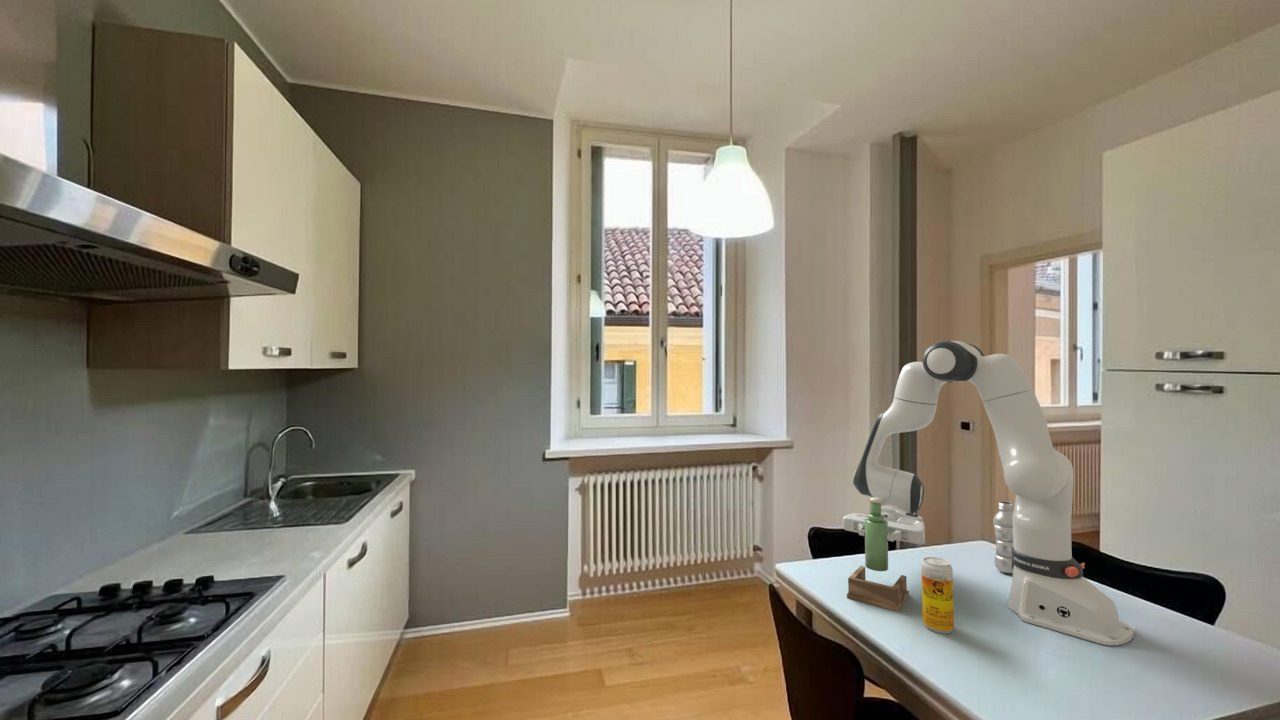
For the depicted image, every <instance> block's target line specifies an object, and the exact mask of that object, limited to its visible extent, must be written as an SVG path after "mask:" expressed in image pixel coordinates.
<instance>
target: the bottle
mask: <svg viewBox="0 0 1280 720" xmlns="http://www.w3.org/2000/svg"><path fill="white" fill-rule="evenodd" d="M882 501H883V499H881V498H877V497H872V496H870V498H869V502H870V513H867V515H868V518H866V519H865V536H864V547H865V548H864V557H865V558H864V561H865V562H864V563H865V565H864V567H865V568H867V569H868V570H872V571H875V572H886V571H888V570H889V541H887V533H888V522H887V521H886V520H884V515H882V514H881V506H882V503H883V502H882Z"/></svg>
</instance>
